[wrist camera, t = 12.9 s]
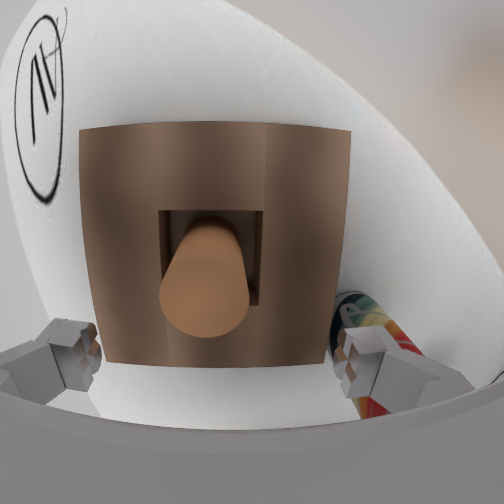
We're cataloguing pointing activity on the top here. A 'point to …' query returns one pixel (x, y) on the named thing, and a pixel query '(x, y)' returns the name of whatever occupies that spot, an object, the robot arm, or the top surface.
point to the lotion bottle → (363, 315)
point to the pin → (206, 280)
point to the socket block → (223, 205)
